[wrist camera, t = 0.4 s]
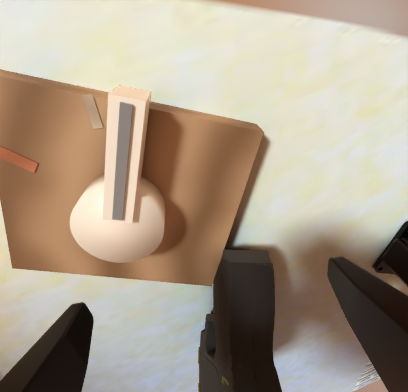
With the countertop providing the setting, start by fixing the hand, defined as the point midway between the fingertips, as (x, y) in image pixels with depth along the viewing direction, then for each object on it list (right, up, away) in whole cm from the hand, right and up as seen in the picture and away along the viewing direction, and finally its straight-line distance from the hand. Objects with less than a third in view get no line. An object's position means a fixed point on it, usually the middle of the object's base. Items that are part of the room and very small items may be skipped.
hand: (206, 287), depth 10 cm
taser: (+2, -9, +20) cm, 22 cm away
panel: (-6, +4, +12) cm, 14 cm away
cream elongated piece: (-5, +5, +9) cm, 11 cm away
